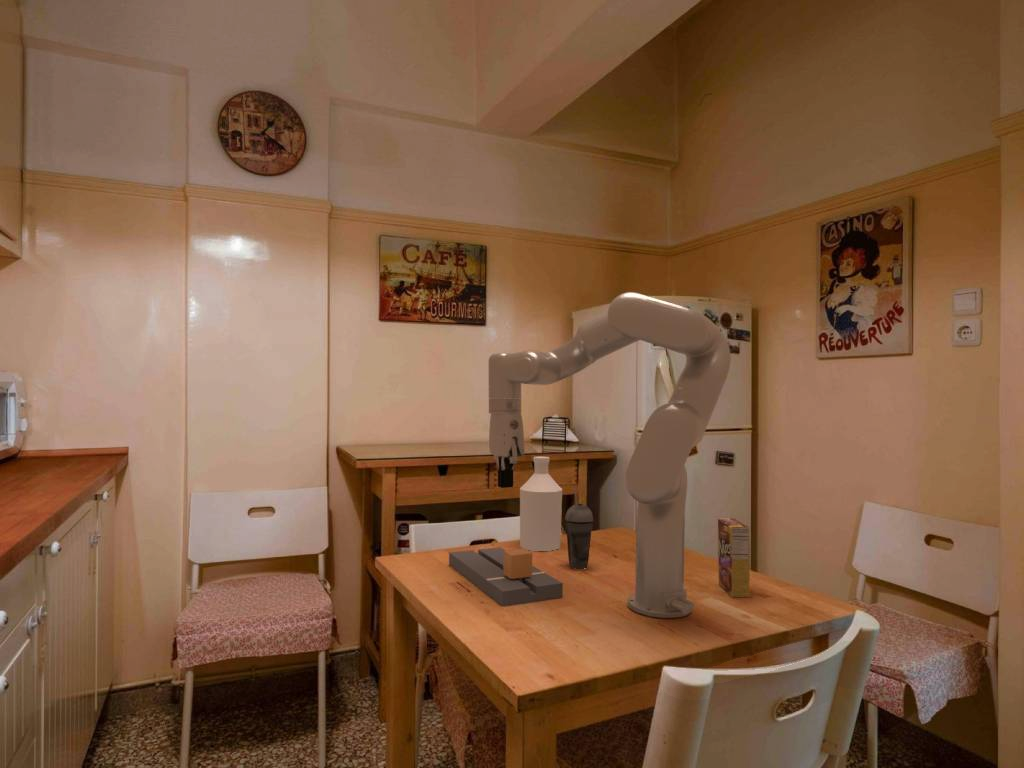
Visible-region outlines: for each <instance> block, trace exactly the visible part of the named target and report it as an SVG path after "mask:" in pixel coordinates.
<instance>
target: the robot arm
mask: <svg viewBox="0 0 1024 768" xmlns="http://www.w3.org/2000/svg"><path fill="white" fill-rule="evenodd" d="M638 341H642V342H645V343H648V344H652V345H654V346H657V347H661V348H664V349H666V350H670V351H673V352H675V353H679V354H682V355H684V356H685V358H686V359H685V360H686V361H685V366H684V367H683V370H682V371H681V374H680V375H679V377H678V379H677V381H676V385H675V387H674V390H673V392H672V393H671V396H670V398H669V400H668V402H667V403H664V404H662V405H660V406H658V407H657V408H656V409H654V410H653V412H652V413H651V415H649V418H648V419H647V421H646V423H645V425H644V427H643V430H642V431H641V433H640V437H639V439H638V441H637V444H636V445H635V448H634V450H633V453H632V455H631V458H630V460H629V462H628V465H627V467H626V470H625V471H626V472H625V475H624V478H625V480H624V481H625V487H626V489H627V491H628V494H629V495H630V496H631V497H632V499H634V500H635V501H637V506H636V508H637V509H636V524H635V525H636V528H635V529H636V530H635V593H633V594H630V596H629V597H627V606H628V607H629V608H630V610H632V611H633V612H635V613H637V614H640V615H643V616H648V617H652V618H660V619H675V618H681V617H685V616H688V615H689V614H691V612H692V610H693V609H694V608H695V603H694V601H692V600H690V599H688V596H687V595H688V591H687V589H684V588H685V587H684V586H685V582H684V581H685V575H684V574H685V531H686V530H685V529H686V527H685V526H686V523H685V522H686V521H685V520H686V502H687V491H688V472H687V468H686V462H687V460H688V458H689V455H690V453H691V451H692V449H693V448H694V447H696V446H698V444H699V443H700V442H701V441H702V440H703V438H704V435H705V433H706V431H707V428H708V427H707V426H708V424H709V422H710V420H711V418H712V415H713V414H714V411H715V408H716V406H717V404H718V400H719V398H720V396H721V393H722V390H723V388H724V385H725V383H726V381H727V377H728V376H729V372H730V366H731V359H732V357H731V350H730V346H729V343H728V341H727V338H726V337H725V335H724V334H723V332H722V331H721V329H720V328H719V327H718V326H717V324H715V323H714V322H713V321H712V320H711V319H710V318H708V316H705V315H704V314H703V313H701V312H699V311H698V310H695V309H693V308H690V307H686V306H683V305H679V304H676V303H671V302H669V301H665V300H662V299H657V298H656V297H655V298H654V297H652V296H649V295H647V294H646V295H645V294H642V293H639V292H636V291H627V292H623V293H621V294H619V295H617V296H615V298H614V299H612V301H611V302H610V304H609V306H608V309H607V311H604V312H603V313H600V314H598V315H596V316H594V317H593V318H590V319H588V320H586V321H584V322H581V324H579V326H578V327H577V330H576V333H575V335H574V336H573V337H572V338H571V339H570V340H568V341H567V342H565V343H563V344H562V345H559V346H558V347H555V348H553V349H551V350H548V351H545V352H544V351H538V350H537V351H536V350H524V351H518V352H513V353H511V352H499V353H498V352H497V353H493V354H491V355H490V356H489V357H488V414H490V417H489V435H488V436H489V438H488V443H489V445H488V446H489V452H490V453H491V455H493V459H494V460H495V461H496V468H497V486H498V488H502V489H507V488H513V487H514V469H515V464H517V463H518V461H519V458H520V457H523V456H524V455H525V453H526V451H525V434H524V433H525V431H524V422H523V417H522V384H523V385H533V386H535V385H536V386H537V385H543V386H547V385H553V384H555V383H558V382H560V381H562V380H564V379H568V378H569V377H571V376H573V375H575V374H577V373H579V372H580V371H582V370H584V369H587V367H590V365H593V364H595V362H596V361H598V360H600V359H603V358H604V357H607V356H609V355H610V354H612V353H615V352H617V351H619V350H621V349H624V348H626V347H627V346H630V345H632V344H634V343H637V342H638Z"/></svg>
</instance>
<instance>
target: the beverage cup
mask: <svg viewBox="0 0 1024 768" xmlns="http://www.w3.org/2000/svg"><path fill="white" fill-rule="evenodd" d="M573 491H574V500H575V501H574V502H575V503H574V504H573V505H571V506H570V507H569V508H568V509H567V511H566V513H565V517H564V525H565V530H566V540H567V541H566V542H567V554H568V555H567V556H568V563H569V565H568V567H569V566H570V567H571V568H570V567H569V568H570V569H572V568H576V569H575V570H577V569H583V570H585V569H584V568H587V567H588V566H589V560H590V559H589V558H590V551H591V550H590V548H591V538H592V530H593V527H594V522H595V520H594V515H593V512H592V510H591V509H590V508H589V507H588V506H587V505H585V504H583V503H578V493H577V486H576V485H575V486H573ZM587 569H588V568H587Z"/></svg>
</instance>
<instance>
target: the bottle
mask: <svg viewBox="0 0 1024 768" xmlns="http://www.w3.org/2000/svg"><path fill="white" fill-rule="evenodd" d="M550 459H551V458H550V457H549V456H533V464H534V465H533V467H534V468H533V469H534V473H533V474H532V475H531V476H530V478H529V479H528V480H527V481H526V482H525V483H524V484H523V485H522V486H521V487H520V488H519V547H520V548H521V547H522V548H523V549H526V550H527V551H528V550H530V551H529V552H535V551H549V552H552V551H551V550H555V551H557V550H556V549H558V548H560V549H561V545H562V544H561V542H562V541H561V539H562V508H563V507H562V505H563V488H562V487H561V486H559V484H558V483H557V482H556V481H555V480H554V478H553V477H552V476H551V475H550V474H549V463H550ZM522 548H521V549H522ZM558 550H559V549H558Z"/></svg>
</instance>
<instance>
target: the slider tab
mask: <svg viewBox="0 0 1024 768" xmlns="http://www.w3.org/2000/svg"><path fill="white" fill-rule="evenodd" d="M532 566H533V552H532V551H528V550H525V549H522V548H519V549H511V550H509V549H508V550H506V551H504V559H503V574H504V575H506V576H507V577H509V578H510V579H517V580H519V581H520V582H522V583H523V577H531V576H532Z"/></svg>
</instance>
